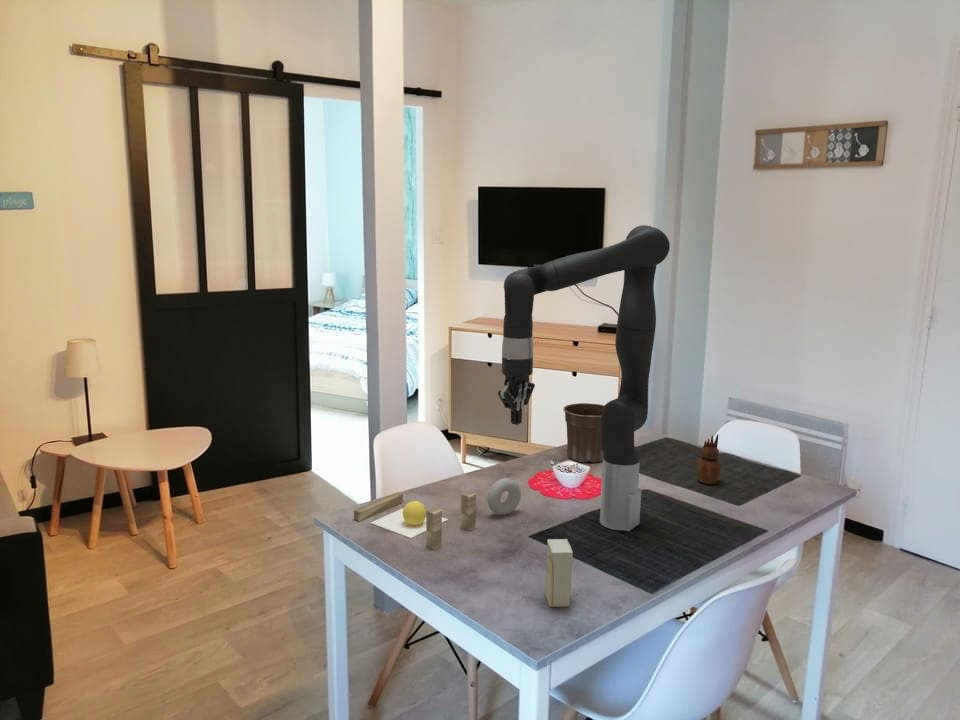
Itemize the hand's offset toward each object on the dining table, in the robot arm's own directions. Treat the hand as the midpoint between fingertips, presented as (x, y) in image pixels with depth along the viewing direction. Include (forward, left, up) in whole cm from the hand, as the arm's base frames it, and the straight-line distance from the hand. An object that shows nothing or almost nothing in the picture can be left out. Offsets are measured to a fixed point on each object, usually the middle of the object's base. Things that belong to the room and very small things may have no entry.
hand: (516, 423), depth 185 cm
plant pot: (+12, -58, -27) cm, 65 cm away
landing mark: (+22, +15, -27) cm, 38 cm away
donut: (+6, -4, -27) cm, 28 cm away
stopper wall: (+33, +15, -27) cm, 45 cm away
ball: (+20, +15, -24) cm, 35 cm away
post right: (+8, +8, -27) cm, 29 cm away
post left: (+8, +22, -27) cm, 35 cm away
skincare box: (-28, +24, -27) cm, 46 cm away
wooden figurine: (-27, -61, -27) cm, 72 cm away
